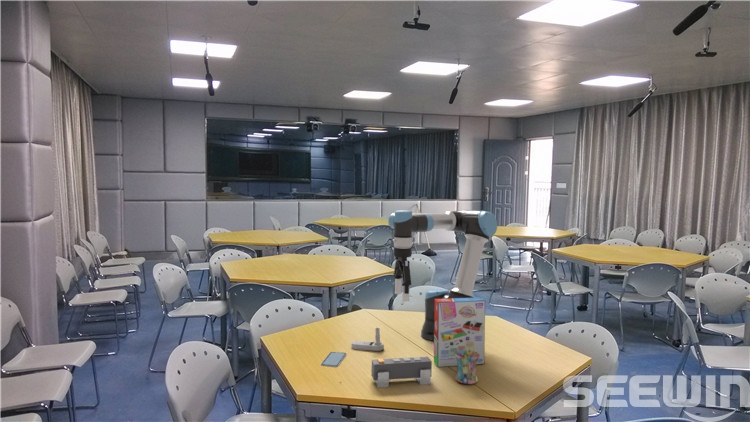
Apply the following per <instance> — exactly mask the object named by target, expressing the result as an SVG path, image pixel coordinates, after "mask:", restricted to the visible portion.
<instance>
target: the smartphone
mask: <svg viewBox="0 0 750 422" xmlns="http://www.w3.org/2000/svg"><path fill="white" fill-rule="evenodd" d="M346 356H347V353H346V352H339V351H330V352H329V353H328V355H327V356H326V357H325V358H324V360H322V362H321V363H320V366H322V367H332V368H337V367H339V366H340V364H342V362H343V360H344V359H345V358H346Z"/></svg>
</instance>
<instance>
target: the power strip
mask: <svg viewBox="0 0 750 422" xmlns="http://www.w3.org/2000/svg"><path fill="white" fill-rule="evenodd" d="M432 362H433V361H432V360H431V358H430V357H429V356H416V357H415V356H414V357H413V356H412V357H397V358H377V359H371V377H372V379H373V381H374V382H375V381H376V380H378V372H382V371H388V372H389V381H390V380H403V379H404V380H406V379H416V378H420V369H431V373H432V367H433V366H432V364H433V363H432Z"/></svg>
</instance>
